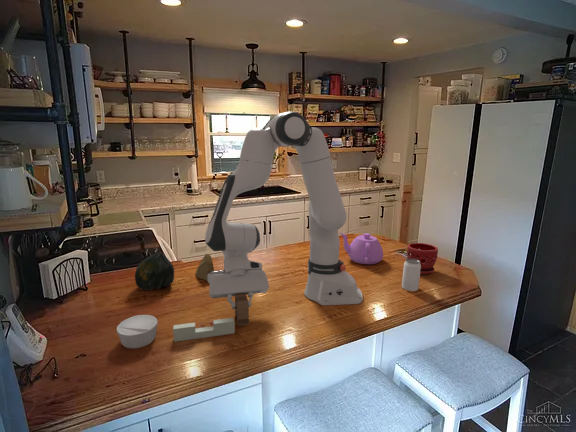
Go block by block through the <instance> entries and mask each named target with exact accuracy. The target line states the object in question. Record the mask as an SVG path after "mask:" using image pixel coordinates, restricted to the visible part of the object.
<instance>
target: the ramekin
mask: <svg viewBox="0 0 576 432" xmlns="http://www.w3.org/2000/svg"><path fill="white" fill-rule="evenodd" d="M158 325H159V323H158V319H157V317H156V316H153V315H150V314H137V315H134V316H131V317H129V318H126V319H124V320H122V321H121V322H120V323H119V324H118V325H117V326H116V334H117V335H118V338H119V340H120V343H121V345H122V346H124V347H125V348H127V349H139V348H144V347H146V346H148V345H150V344H151V343H152V342H153V341H154V339H155V338H156V337H157V329H158V328H157V327H158Z"/></svg>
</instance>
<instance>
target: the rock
mask: <svg viewBox="0 0 576 432" xmlns="http://www.w3.org/2000/svg"><path fill="white" fill-rule="evenodd" d="M214 268H215V267H214V263H213V260H212V256H211V254H209V253H205V255H204V256H203V257H202V259H201V261H200V263H199V265H198V266H197V269H196V271H195V274H194V275H195V276H196V277H197V278H198V279H201V280H203V281H207V276H208V274H209V273H211V272H212V271H215V269H214Z"/></svg>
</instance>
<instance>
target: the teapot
mask: <svg viewBox="0 0 576 432" xmlns="http://www.w3.org/2000/svg"><path fill="white" fill-rule="evenodd" d="M339 235H341V236H342V237H343V249H344V251H345V252H346V253H347V256H348V257H349V258H350V260H351V261H352V262H354V263H356V264H357V263H358V264H362V265H375V264H378V263H380V262H381V261H382V260H383V258H384V250H383V246H382V245H381V243H380V241H379V240H378V238H377V237H375V236H373V235H372V234H371V233H367V232H364V233H363V234H360V235H357V236H356V237H355V238H354V239H353V240H352V241H351V243H350V244H349V243H348V242H349V241H348V236H347V235H346V234H345V233H343V232H339Z"/></svg>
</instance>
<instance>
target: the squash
mask: <svg viewBox="0 0 576 432" xmlns="http://www.w3.org/2000/svg"><path fill="white" fill-rule="evenodd" d="M174 278H175V268H174V265H173V263H172V262H171V261H170V260H169V258H168V257H167V256H166V255H165V254H164V253H163V252H156V253H154V254H152V255H149V256H148V257H146V258H145V259H143V260H140V262H139V263H138V265H137V267H136V269H135V273H134V281H135V284H136V287H138V288H139V289H140V290H146V291H152V290H154V289H155V290H159V289H162V288H165V287H169V286H171V285H172V284H173V282H174Z"/></svg>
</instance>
